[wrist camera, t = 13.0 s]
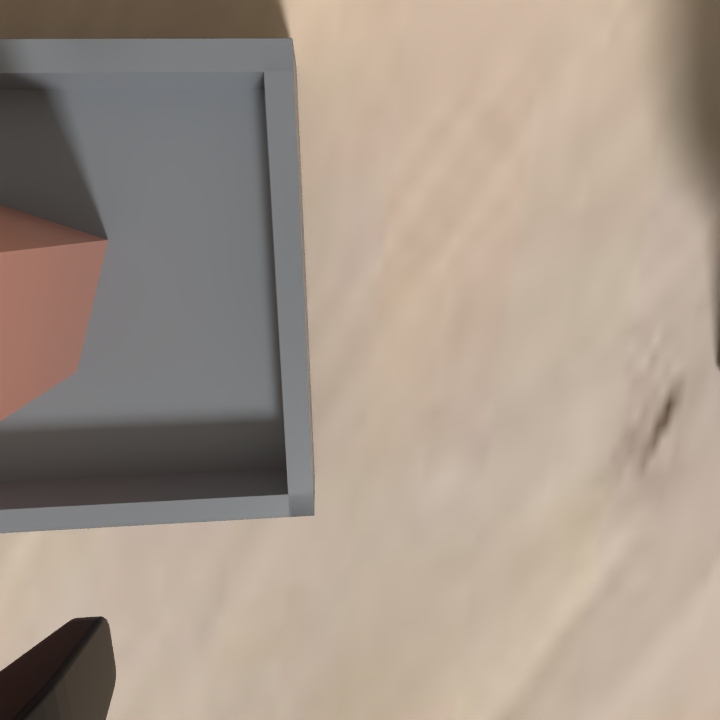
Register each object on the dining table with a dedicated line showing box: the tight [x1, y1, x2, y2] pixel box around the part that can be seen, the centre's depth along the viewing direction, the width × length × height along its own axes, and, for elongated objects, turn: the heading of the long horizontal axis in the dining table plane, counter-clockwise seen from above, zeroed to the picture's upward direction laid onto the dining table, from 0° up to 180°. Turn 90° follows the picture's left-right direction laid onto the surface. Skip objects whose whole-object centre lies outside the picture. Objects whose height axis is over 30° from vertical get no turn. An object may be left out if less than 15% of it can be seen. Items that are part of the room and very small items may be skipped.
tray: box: [0, 38, 315, 533], centre depth 18 cm, size 16×14×3 cm
